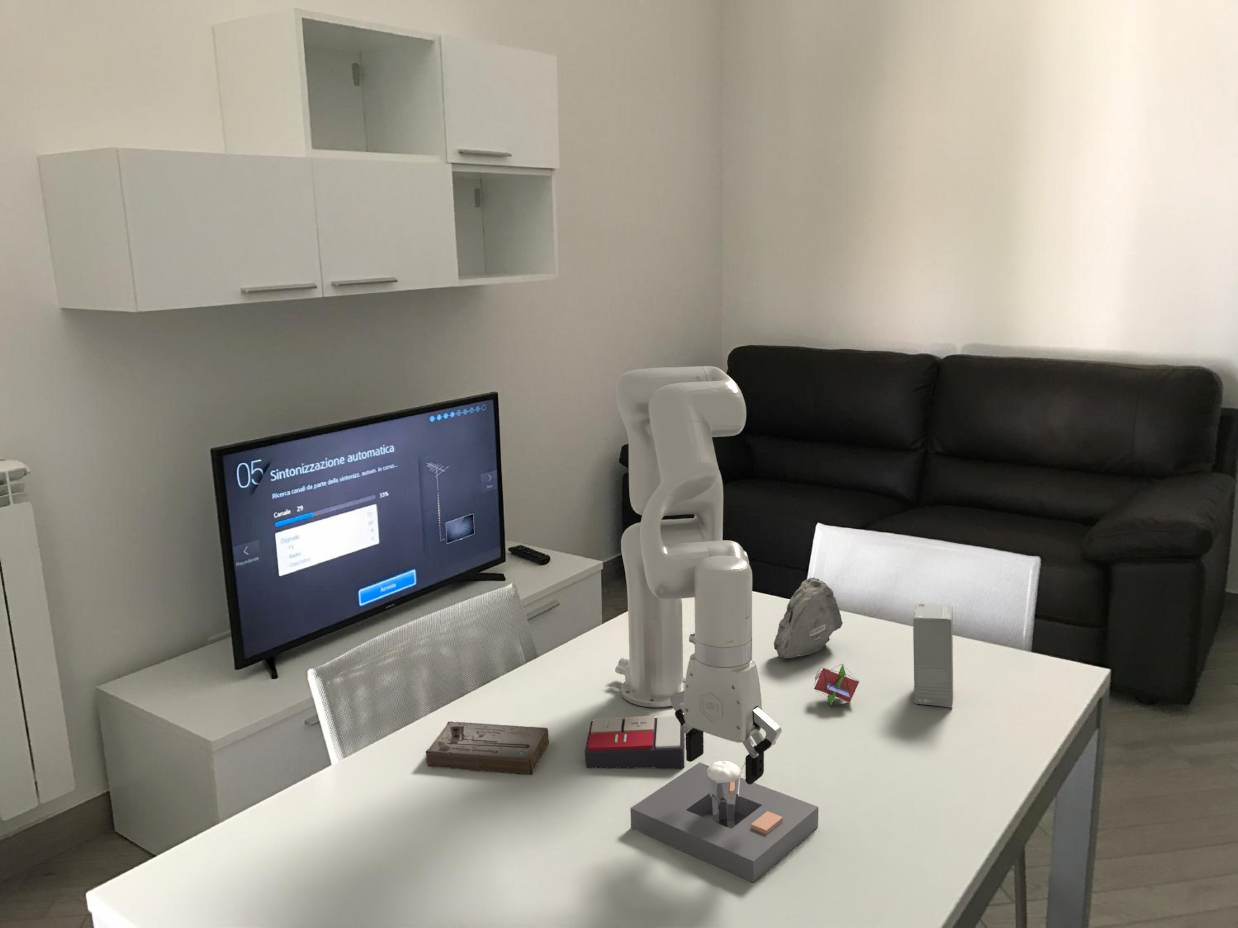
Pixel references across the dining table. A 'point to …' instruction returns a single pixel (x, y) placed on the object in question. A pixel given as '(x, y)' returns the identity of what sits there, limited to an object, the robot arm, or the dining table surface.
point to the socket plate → (743, 850)
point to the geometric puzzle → (835, 684)
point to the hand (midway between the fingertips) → (723, 768)
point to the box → (488, 747)
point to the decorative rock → (808, 620)
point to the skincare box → (933, 654)
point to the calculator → (635, 743)
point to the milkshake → (724, 792)
